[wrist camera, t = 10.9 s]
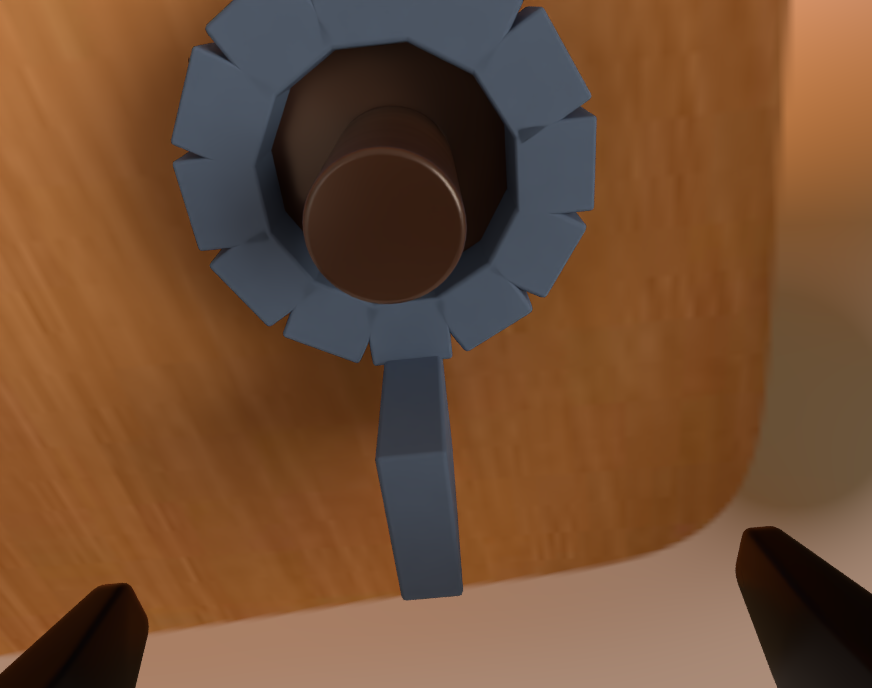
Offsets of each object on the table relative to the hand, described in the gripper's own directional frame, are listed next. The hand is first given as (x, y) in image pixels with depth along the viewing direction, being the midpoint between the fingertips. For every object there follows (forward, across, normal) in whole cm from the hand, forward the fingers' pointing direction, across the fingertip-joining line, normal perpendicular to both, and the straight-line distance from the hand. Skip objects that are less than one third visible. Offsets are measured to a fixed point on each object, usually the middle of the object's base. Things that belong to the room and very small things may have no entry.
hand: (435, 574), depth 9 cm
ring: (+4, 0, -3) cm, 5 cm away
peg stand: (+5, 0, -5) cm, 7 cm away
